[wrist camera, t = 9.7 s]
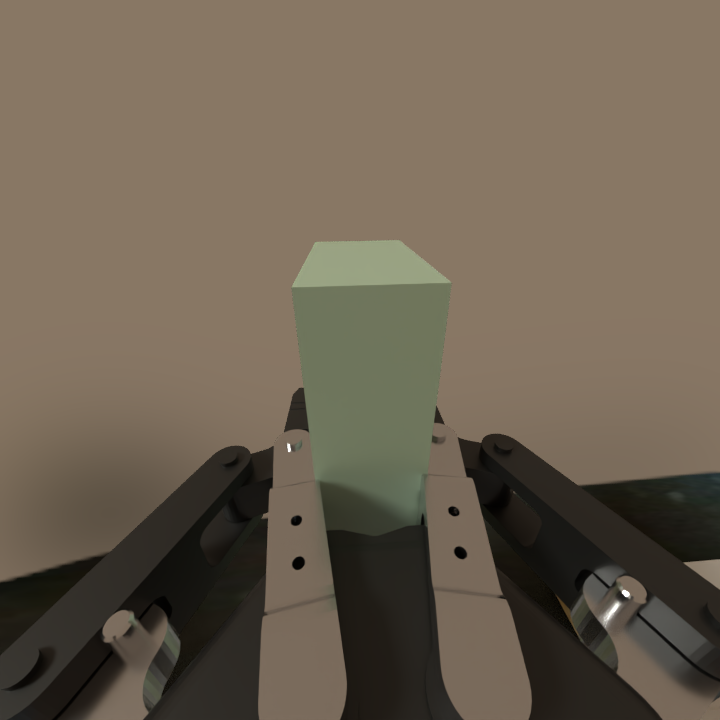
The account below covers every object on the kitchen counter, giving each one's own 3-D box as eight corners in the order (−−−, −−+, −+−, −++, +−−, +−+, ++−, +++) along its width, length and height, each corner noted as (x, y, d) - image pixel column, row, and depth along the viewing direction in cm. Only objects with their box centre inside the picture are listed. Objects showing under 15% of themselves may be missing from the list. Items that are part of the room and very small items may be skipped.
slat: (336, 654, 13) (291, 286, 6) (337, 523, 19) (315, 242, 11) (405, 649, 13) (451, 282, 6) (387, 520, 19) (399, 240, 11)
